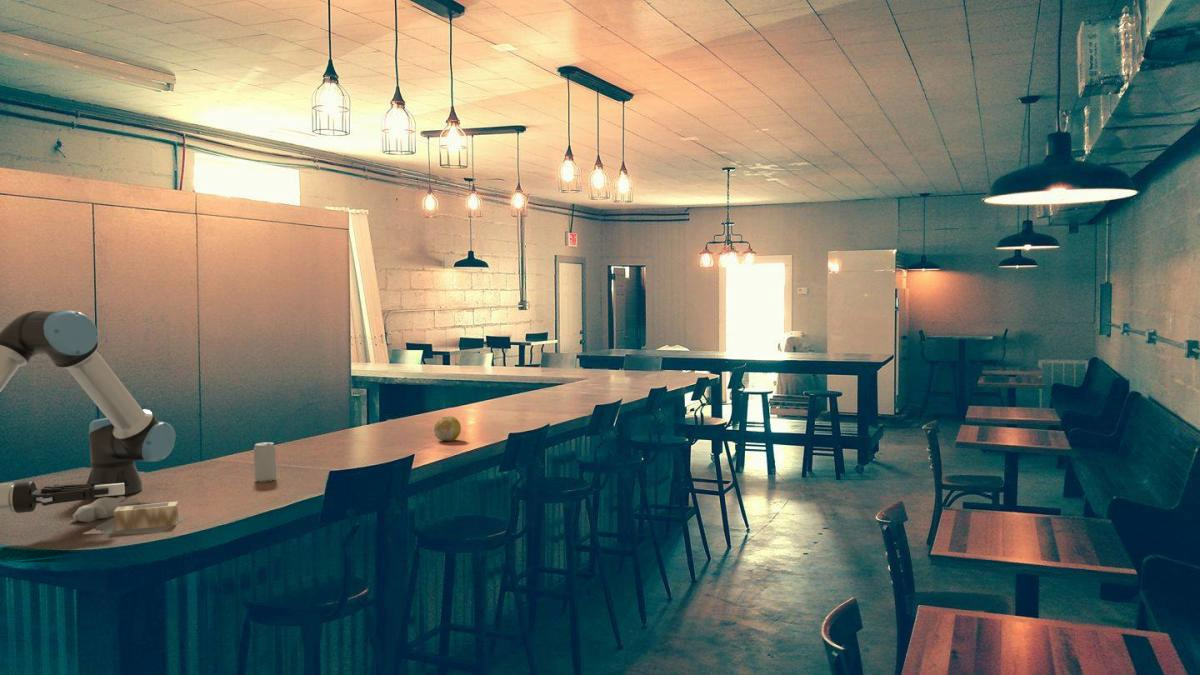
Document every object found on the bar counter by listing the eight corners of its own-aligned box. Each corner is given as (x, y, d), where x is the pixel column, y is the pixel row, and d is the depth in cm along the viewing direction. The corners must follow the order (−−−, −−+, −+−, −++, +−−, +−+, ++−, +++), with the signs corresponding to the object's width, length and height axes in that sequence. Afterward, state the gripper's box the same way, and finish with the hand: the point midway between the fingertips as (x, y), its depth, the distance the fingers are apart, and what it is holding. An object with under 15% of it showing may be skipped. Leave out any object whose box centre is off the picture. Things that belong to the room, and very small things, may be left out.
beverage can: (268, 483, 267) (267, 445, 267) (250, 482, 269) (249, 445, 268) (280, 478, 274) (279, 442, 273) (262, 477, 275) (261, 441, 274)
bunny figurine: (64, 507, 224) (118, 488, 237) (68, 525, 224) (121, 506, 238) (87, 511, 219) (140, 492, 233) (90, 530, 220) (143, 509, 233)
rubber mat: (79, 535, 211) (79, 534, 211) (112, 519, 226) (112, 518, 226) (160, 534, 211) (160, 532, 211) (188, 518, 226) (188, 516, 226)
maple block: (114, 511, 213) (175, 505, 218) (117, 506, 218) (177, 501, 223) (114, 530, 213) (176, 524, 218) (118, 525, 218) (178, 519, 223)
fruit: (438, 438, 345) (438, 414, 344) (464, 439, 343) (463, 414, 343) (430, 443, 335) (429, 418, 334) (456, 443, 333) (456, 418, 333)
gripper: (23, 506, 213) (128, 497, 222) (8, 519, 201) (120, 509, 210) (21, 477, 213) (127, 469, 222) (6, 488, 201) (119, 479, 210)
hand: (124, 488), depth 216 cm, fingers closed
